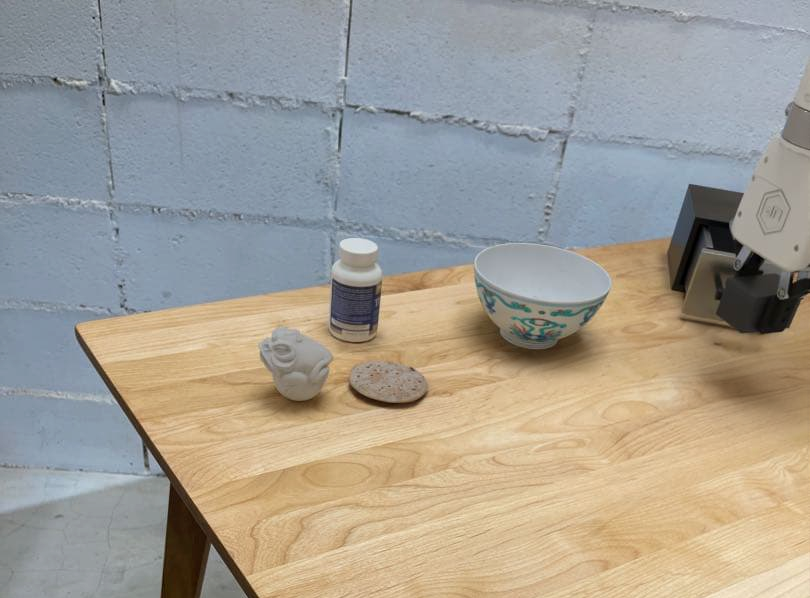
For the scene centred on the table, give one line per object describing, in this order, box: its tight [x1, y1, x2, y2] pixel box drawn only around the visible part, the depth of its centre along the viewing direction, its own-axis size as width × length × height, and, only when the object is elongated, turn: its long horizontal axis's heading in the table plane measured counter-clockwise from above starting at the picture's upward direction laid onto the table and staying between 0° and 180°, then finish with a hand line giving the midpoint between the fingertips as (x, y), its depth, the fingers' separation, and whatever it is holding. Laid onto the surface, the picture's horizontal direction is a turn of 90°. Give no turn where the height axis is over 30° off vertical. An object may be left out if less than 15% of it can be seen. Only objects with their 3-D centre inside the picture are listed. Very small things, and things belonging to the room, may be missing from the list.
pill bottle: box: [328, 237, 383, 343], centre depth 89 cm, size 5×5×10 cm
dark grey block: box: [716, 273, 805, 335], centre depth 86 cm, size 6×5×4 cm
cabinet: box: [667, 183, 745, 293], centre depth 111 cm, size 13×12×10 cm
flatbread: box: [348, 360, 429, 404], centre depth 84 cm, size 8×8×1 cm
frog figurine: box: [257, 325, 334, 402], centre depth 79 cm, size 6×7×7 cm
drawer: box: [681, 224, 782, 322], centre depth 102 cm, size 17×10×8 cm, turn 169°
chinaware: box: [473, 242, 613, 350], centre depth 93 cm, size 15×15×8 cm
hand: (753, 317), depth 87 cm, fingers closed on dark grey block, 4 cm apart
